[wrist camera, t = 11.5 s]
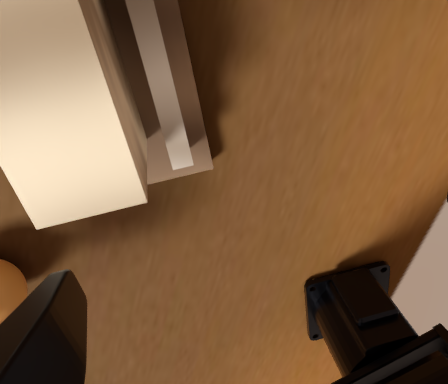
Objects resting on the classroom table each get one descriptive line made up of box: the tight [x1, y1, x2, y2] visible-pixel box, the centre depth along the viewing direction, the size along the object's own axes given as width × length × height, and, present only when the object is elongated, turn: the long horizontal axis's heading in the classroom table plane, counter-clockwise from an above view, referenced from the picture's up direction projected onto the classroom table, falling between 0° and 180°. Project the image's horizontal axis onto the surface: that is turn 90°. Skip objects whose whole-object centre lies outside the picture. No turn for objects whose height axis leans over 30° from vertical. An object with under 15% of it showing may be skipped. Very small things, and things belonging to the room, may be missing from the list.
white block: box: [0, 0, 147, 230], centre depth 13 cm, size 12×4×6 cm, turn 10°
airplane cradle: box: [104, 0, 214, 185], centre depth 14 cm, size 17×10×5 cm, turn 10°
